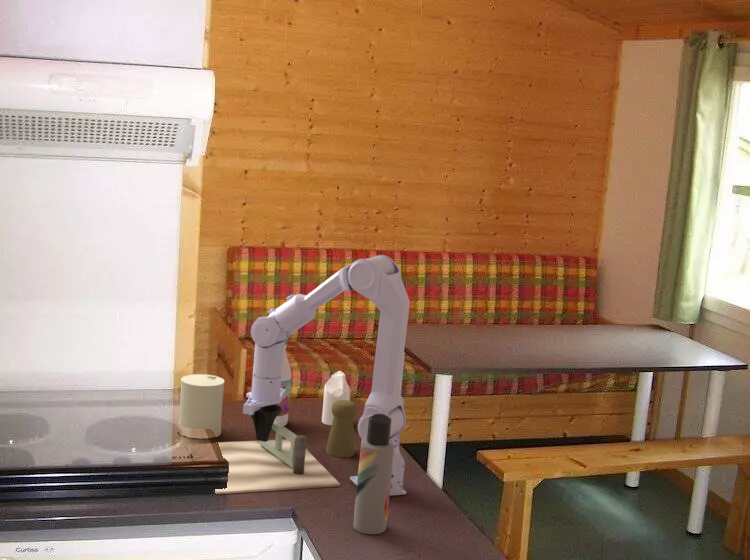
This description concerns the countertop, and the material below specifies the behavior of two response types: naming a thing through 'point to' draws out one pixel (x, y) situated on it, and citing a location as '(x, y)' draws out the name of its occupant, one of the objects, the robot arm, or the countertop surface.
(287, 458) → the bar
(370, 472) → the lotion bottle
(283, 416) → the milk bottle
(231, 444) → the base
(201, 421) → the can
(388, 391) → the robot arm
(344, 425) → the cork
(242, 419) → the countertop surface
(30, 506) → the countertop surface
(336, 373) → the white chalk piece
